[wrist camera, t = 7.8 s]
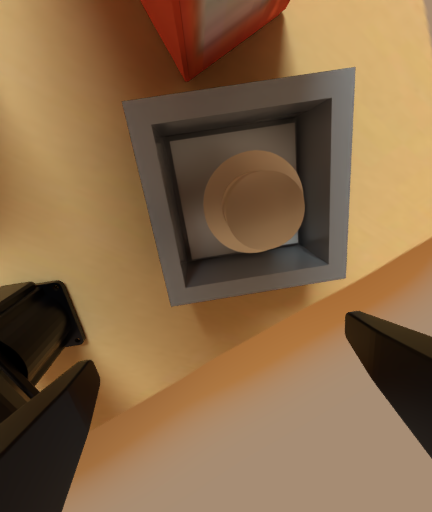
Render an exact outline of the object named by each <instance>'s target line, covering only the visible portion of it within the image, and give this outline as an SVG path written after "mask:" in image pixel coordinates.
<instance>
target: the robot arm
mask: <svg viewBox="0 0 432 512" xmlns="http://www.w3.org/2000/svg"><path fill="white" fill-rule="evenodd" d="M55 285H57V286H58V287H59V288H57V287H56V286H55ZM345 335H346V338H347V340H348V341H349V343H350V344H351V346H352V348H353V350H354V351H355V353H356V354H357V356H358V357H359V359H360V361H361V363H362V364H363V366H364V367H365V369H366V371H367V372H368V374H369V375H370V377H371V378H372V380H373V381H374V383H375V384H376V385H377V387H378V388H379V389H380V391H381V392H382V393H383V395H384V396H385V397H386V399H387V400H388V401H389V402H390V404H391V405H392V407H393V408H394V409H395V411H396V412H397V413H398V415H399V416H400V417H401V419H402V420H403V421H404V423H405V424H406V425H407V426H408V428H409V429H410V430H411V432H412V433H413V434H414V436H415V437H416V438H417V440H418V441H419V442H420V444H421V445H422V446H423V448H424V449H425V450H426V452H427V453H428V454H429V455H430V457H431V458H432V337H430V336H428V335H425V334H423V333H420V332H417V331H414V330H411V329H408V328H406V327H403V326H400V325H397V324H394V323H392V322H389V321H386V320H383V319H380V318H377V317H375V316H372V315H369V314H366V313H363V312H361V311H354V312H348V313H347V314H346V316H345ZM77 338H79V339H80V340H79V339H77ZM84 340H85V335H84V333H83V330H82V328H81V325H80V323H79V320H78V318H77V315H76V313H75V310H74V308H73V305H72V303H71V300H70V298H69V296H68V293H67V291H66V288H65V286H64V284H63V282H61V281H58V280H56V281H50V282H44V283H37V284H35V283H34V282H25V283H18V284H12V285H6V286H1V287H0V512H62V509H63V506H64V503H65V500H66V497H67V494H68V491H69V488H70V485H71V483H72V480H73V477H74V474H75V471H76V468H77V465H78V462H79V459H80V456H81V453H82V450H83V447H84V444H85V441H86V438H87V435H88V432H89V428H90V424H91V420H92V416H93V412H94V408H95V404H96V399H97V395H98V391H99V387H100V377H99V374H98V372H97V369H96V367H95V365H94V362H93V361H92V360H85V361H80V362H78V363H76V364H75V365H74V366H72V367H71V368H70V369H69V370H67V371H66V372H65V373H64V374H62V375H61V376H60V377H59V378H57V379H56V380H55V381H54V382H52V383H51V384H50V385H48V386H47V387H46V388H45V389H43V390H42V391H41V392H39V391H38V390H37V389H36V388H35V385H36V384H37V383H38V381H39V380H40V379H41V377H42V376H43V375H44V374H45V372H46V371H47V370H48V368H49V367H50V366H51V364H52V363H53V362H54V360H55V359H56V358H57V357H58V355H59V354H60V353H61V351H62V350H63V349H64V347H69V346H75V345H80V344H82V343H83V342H84Z"/></svg>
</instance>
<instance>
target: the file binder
mask: <svg viewBox="0 0 432 512" xmlns="http://www.w3.org/2000/svg"><path fill="white" fill-rule="evenodd" d="M140 1H141V3H142V5H143V7H144V9H145V10H146V12H147V14H148V16H149V18H150V19H151V21H152V23H153V25H154V26H155V28H156V30H157V32H158V34H159V35H160V37H161V39H162V41H163V43H164V44H165V46H166V48H167V50H168V52H169V53H170V55H171V57H172V59H173V60H174V62H175V64H176V66H177V68H178V69H179V71H180V73H181V75H182V77H183V78H184V80H185V82H186V81H187V82H188V81H190V80H191V79H192V78H194V77H195V76H196V75H198V74H199V73H200V72H202V71H203V70H205V69H206V68H207V67H209V66H210V65H211V64H213V63H214V62H215V61H217V60H218V59H220V58H221V57H222V56H224V55H225V54H226V53H228V52H229V51H230V50H232V49H233V48H235V47H236V46H237V45H239V44H240V43H241V42H243V41H244V40H245V39H247V38H248V37H249V36H251V35H252V34H254V33H255V32H256V31H258V30H259V29H260V28H262V27H263V26H264V25H266V24H267V23H269V22H270V21H271V20H273V19H274V18H275V17H277V16H278V15H279V13H280V12H282V11H283V10H285V9H286V7H287V5H288V3H289V1H290V0H140Z"/></svg>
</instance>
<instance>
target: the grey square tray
mask: <svg viewBox="0 0 432 512" xmlns="http://www.w3.org/2000/svg"><path fill="white" fill-rule="evenodd" d="M354 88H355V67H352V68H345V69H338V70H332V71H325V72H318V73H311V74H304V75H298V76H291V77H284V78H277V79H271V80H264V81H257V82H250V83H243V84H237V85H230V86H223V87H216V88H210V89H203V90H196V91H189V92H182V93H176V94H169V95H162V96H155V97H149V98H142V99H135V100H128V101H122V104H123V109H124V113H125V117H126V121H127V125H128V129H129V134H130V138H131V142H132V146H133V150H134V154H135V159H136V163H137V167H138V171H139V175H140V179H141V184H142V188H143V192H144V196H145V200H146V204H147V209H148V213H149V217H150V221H151V225H152V229H153V234H154V238H155V242H156V246H157V250H158V254H159V259H160V263H161V267H162V271H163V275H164V279H165V283H166V288H167V292H168V296H169V300H170V304H171V307H172V306H178V305H184V304H190V303H197V302H203V301H209V300H215V299H221V298H227V297H234V296H240V295H246V294H252V293H258V292H264V291H270V290H277V289H283V288H289V287H295V286H301V285H307V284H314V283H320V282H326V281H332V280H338V279H344V278H346V262H347V241H348V219H349V197H350V175H351V153H352V132H353V110H354ZM289 123H295V151H296V173H297V174H298V176H299V178H300V181H301V184H302V188H303V196H304V202H305V212H304V217H303V221H302V223H301V225H300V227H299V229H298V243H292V244H286V245H281V246H279V247H276V248H273V249H269V250H266V251H263V252H258V253H244V252H236V253H229V254H223V255H217V256H211V257H204V258H198V259H192V257H191V251H190V246H189V241H188V236H187V230H186V225H185V220H184V215H183V209H182V204H181V199H180V194H179V189H178V183H177V178H176V173H175V168H174V162H173V157H172V152H171V147H170V141H176V140H183V139H189V138H196V137H203V136H209V135H216V134H223V133H229V132H236V131H242V130H249V129H256V128H262V127H269V126H276V125H282V124H289Z"/></svg>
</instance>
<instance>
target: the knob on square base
mask: <svg viewBox="0 0 432 512" xmlns="http://www.w3.org/2000/svg"><path fill="white" fill-rule="evenodd" d="M170 147H171V152H172V157H173V162H174V168H175V173H176V178H177V183H178V189H179V194H180V199H181V204H182V209H183V215H184V220H185V225H186V230H187V236H188V241H189V246H190V251H191V257H192V259H198V258H204V257H211V256H217V255H223V254H229V253H236V252H244V253H258V252H263V251H266V250H269V249H273V248H276V247H279V246H281V245H286V244H292V243H298V229H299V227H300V225H301V223H302V221H303V217H304V212H305V202H304V196H303V188H302V184H301V181H300V178H299V176H298V174H297V173H296V151H295V123H289V124H282V125H276V126H269V127H262V128H256V129H249V130H242V131H236V132H229V133H223V134H216V135H209V136H203V137H196V138H189V139H183V140H176V141H170Z"/></svg>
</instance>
